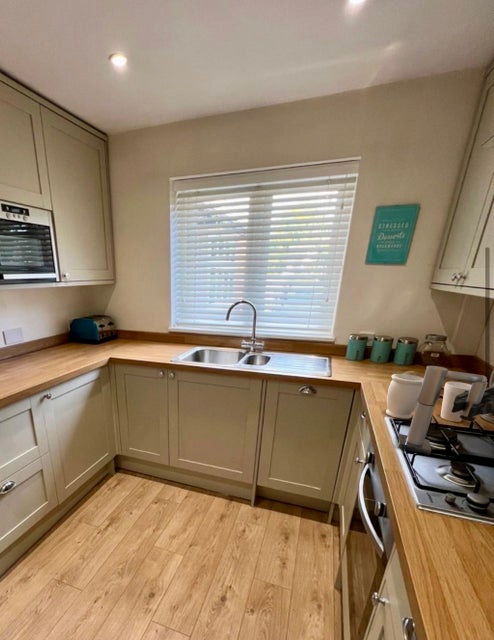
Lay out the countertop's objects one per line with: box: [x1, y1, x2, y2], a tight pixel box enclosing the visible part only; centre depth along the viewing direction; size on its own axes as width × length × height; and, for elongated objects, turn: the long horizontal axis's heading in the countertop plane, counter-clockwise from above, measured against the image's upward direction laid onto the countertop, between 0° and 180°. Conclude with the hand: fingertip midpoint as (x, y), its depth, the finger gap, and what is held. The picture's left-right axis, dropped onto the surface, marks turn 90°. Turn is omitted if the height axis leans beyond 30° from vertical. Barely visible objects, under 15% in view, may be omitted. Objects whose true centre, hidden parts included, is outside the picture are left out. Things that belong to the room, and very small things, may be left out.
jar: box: [385, 373, 424, 420], centre depth 123 cm, size 11×10×15 cm
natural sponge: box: [402, 370, 423, 378], centre depth 151 cm, size 9×9×10 cm
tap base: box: [397, 402, 436, 456], centre depth 100 cm, size 8×8×14 cm
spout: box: [417, 365, 489, 422], centre depth 93 cm, size 14×5×13 cm, turn 56°
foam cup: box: [440, 381, 472, 423], centre depth 122 cm, size 10×9×13 cm
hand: (462, 410), depth 89 cm, fingers closed on spout, 3 cm apart
